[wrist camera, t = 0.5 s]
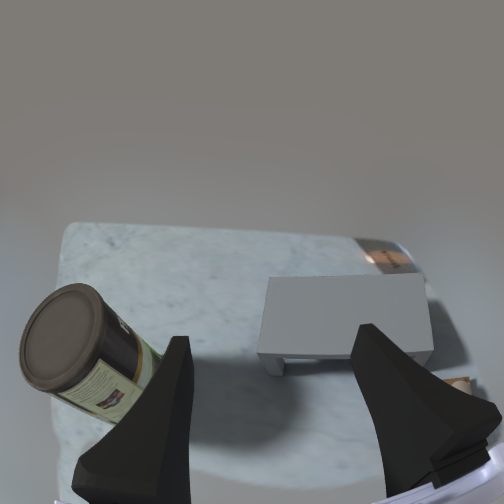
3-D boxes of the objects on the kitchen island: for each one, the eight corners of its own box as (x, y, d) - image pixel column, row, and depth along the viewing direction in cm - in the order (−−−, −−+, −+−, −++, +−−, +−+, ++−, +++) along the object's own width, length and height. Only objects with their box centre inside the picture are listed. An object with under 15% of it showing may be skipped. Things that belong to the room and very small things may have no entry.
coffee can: (130, 341, 36) (60, 271, 26) (195, 371, 32) (125, 299, 22) (91, 408, 31) (4, 355, 21) (152, 451, 26) (56, 413, 16)
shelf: (418, 373, 26) (434, 350, 22) (269, 375, 30) (256, 352, 26) (412, 305, 31) (422, 272, 27) (278, 308, 35) (269, 277, 31)
